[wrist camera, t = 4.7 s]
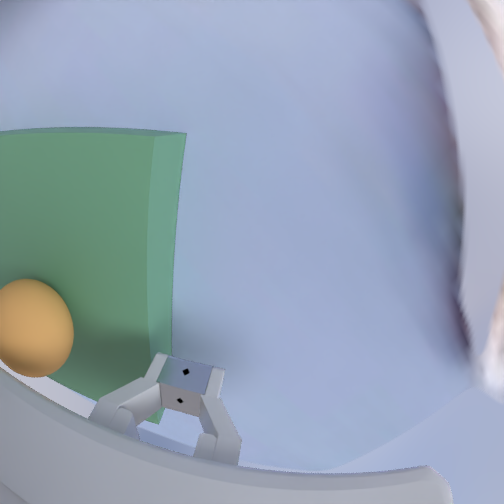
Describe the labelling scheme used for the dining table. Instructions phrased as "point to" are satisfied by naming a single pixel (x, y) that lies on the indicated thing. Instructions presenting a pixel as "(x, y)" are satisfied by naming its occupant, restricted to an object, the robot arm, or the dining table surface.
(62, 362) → the ball
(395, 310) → the dining table surface
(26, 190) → the green
